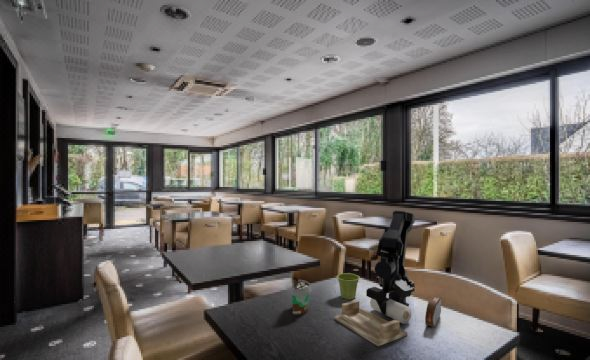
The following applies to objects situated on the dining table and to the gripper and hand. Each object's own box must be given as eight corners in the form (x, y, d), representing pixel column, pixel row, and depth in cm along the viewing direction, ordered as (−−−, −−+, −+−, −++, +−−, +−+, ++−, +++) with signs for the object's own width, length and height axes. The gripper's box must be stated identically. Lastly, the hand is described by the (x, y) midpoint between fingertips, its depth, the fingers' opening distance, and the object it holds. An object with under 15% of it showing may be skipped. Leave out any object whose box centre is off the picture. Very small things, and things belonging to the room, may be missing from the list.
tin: (433, 313, 117) (433, 291, 117) (442, 315, 115) (443, 292, 115) (424, 329, 105) (424, 304, 105) (434, 331, 103) (434, 306, 103)
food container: (308, 318, 112) (308, 291, 112) (291, 317, 113) (291, 289, 113) (313, 305, 124) (313, 280, 124) (298, 303, 125) (298, 279, 125)
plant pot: (361, 301, 128) (361, 280, 128) (338, 301, 128) (338, 280, 128) (357, 293, 137) (357, 273, 137) (335, 292, 137) (335, 273, 137)
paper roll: (369, 310, 119) (369, 294, 119) (380, 307, 122) (381, 292, 122) (400, 326, 106) (400, 308, 106) (411, 322, 110) (411, 305, 110)
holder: (361, 311, 118) (361, 298, 118) (407, 335, 100) (407, 319, 100) (334, 319, 112) (334, 305, 112) (378, 346, 94) (378, 329, 94)
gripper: (389, 281, 102) (389, 328, 102) (425, 272, 112) (425, 315, 112) (365, 272, 112) (365, 315, 112) (400, 265, 122) (400, 305, 122)
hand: (389, 313), depth 114 cm, fingers closed on paper roll, 6 cm apart
